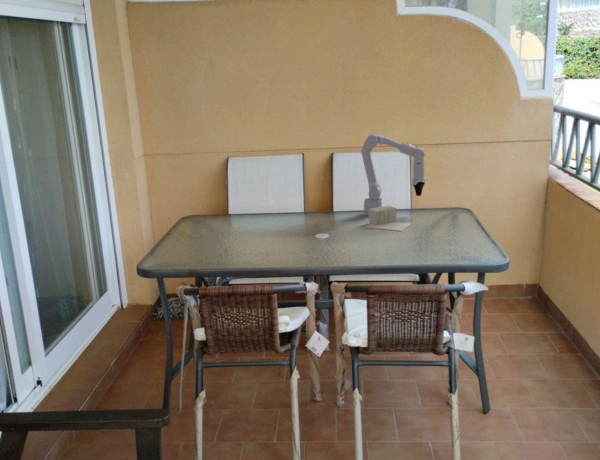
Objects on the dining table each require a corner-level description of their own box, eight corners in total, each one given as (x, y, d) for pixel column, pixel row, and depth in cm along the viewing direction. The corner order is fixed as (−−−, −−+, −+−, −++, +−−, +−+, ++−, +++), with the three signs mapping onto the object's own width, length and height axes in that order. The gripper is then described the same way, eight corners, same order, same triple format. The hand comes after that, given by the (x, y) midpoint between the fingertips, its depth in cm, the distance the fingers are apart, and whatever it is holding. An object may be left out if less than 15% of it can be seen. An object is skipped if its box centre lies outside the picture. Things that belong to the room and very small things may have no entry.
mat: (364, 227, 307) (364, 226, 307) (376, 220, 318) (375, 220, 318) (401, 231, 297) (401, 230, 297) (411, 224, 308) (411, 223, 308)
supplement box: (389, 218, 320) (368, 222, 315) (389, 205, 318) (368, 208, 313) (396, 222, 313) (375, 225, 308) (396, 208, 311) (375, 211, 306)
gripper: (421, 173, 312) (421, 199, 316) (430, 168, 324) (430, 193, 328) (408, 172, 316) (408, 198, 320) (418, 168, 328) (418, 192, 332)
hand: (418, 195), depth 324 cm, fingers closed
